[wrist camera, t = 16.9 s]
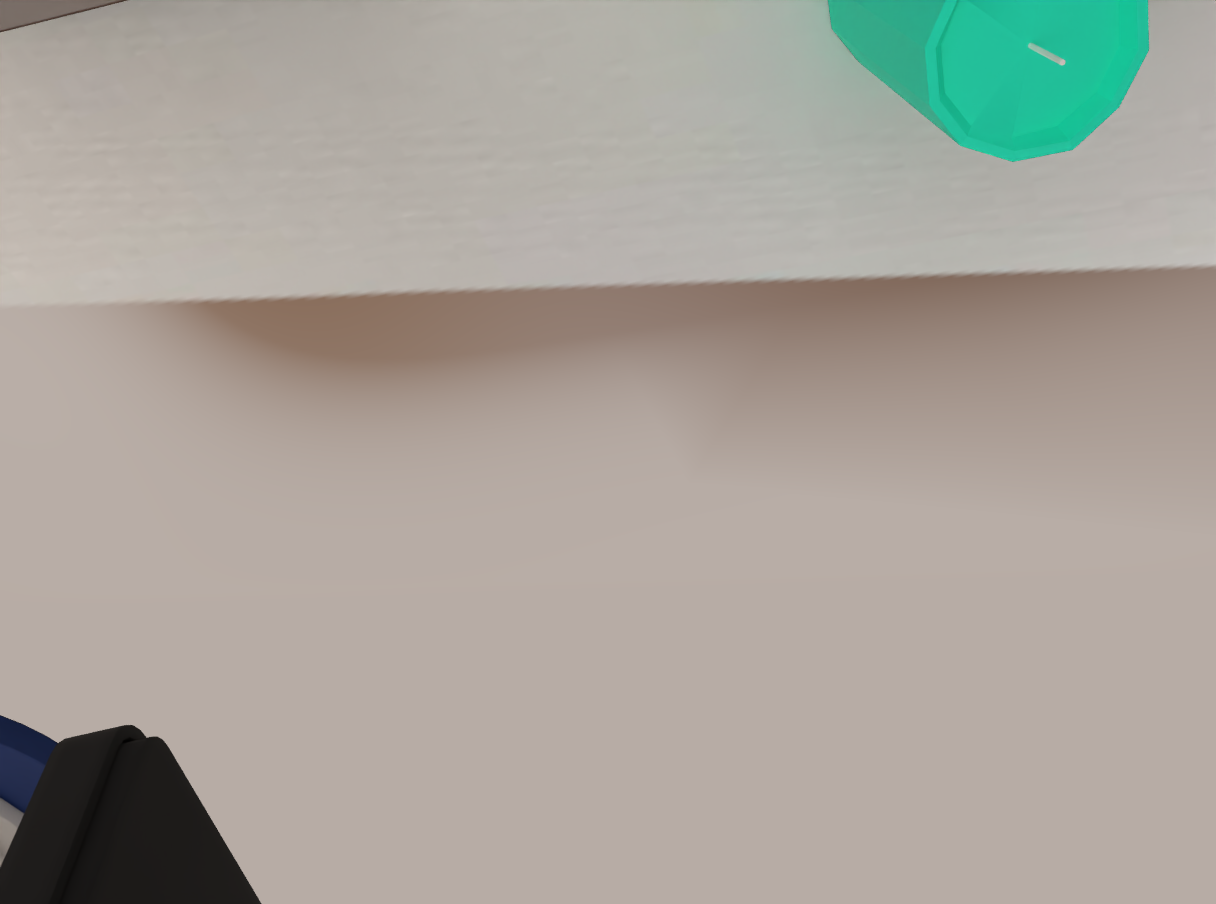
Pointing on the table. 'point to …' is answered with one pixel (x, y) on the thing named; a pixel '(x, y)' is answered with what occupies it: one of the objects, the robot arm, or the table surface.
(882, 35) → the candle
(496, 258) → the table surface
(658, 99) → the table surface
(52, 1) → the wooden stand
